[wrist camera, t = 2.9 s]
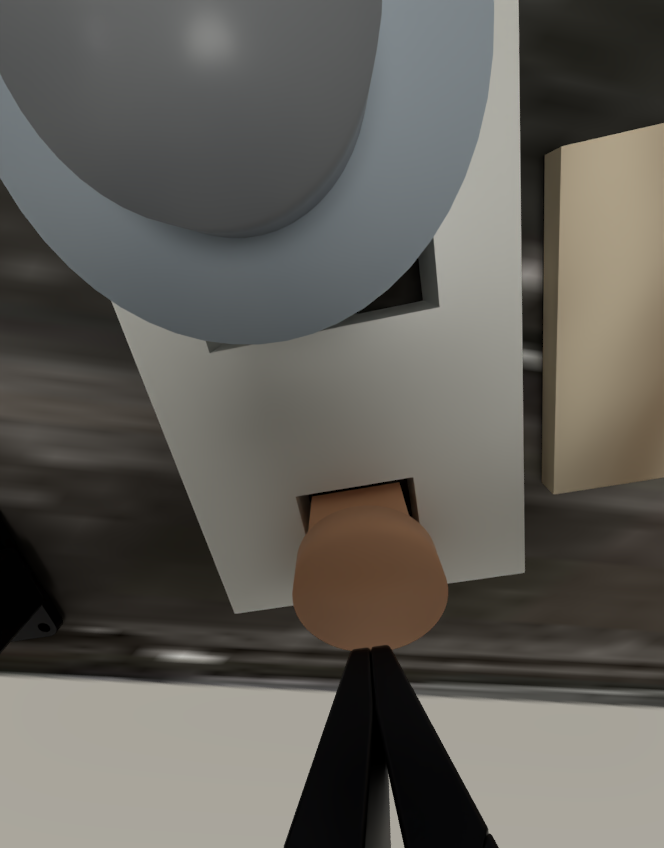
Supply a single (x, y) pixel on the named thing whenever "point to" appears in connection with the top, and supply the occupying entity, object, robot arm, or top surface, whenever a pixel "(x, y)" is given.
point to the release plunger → (367, 571)
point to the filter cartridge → (241, 149)
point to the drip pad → (604, 312)
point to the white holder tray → (370, 393)
